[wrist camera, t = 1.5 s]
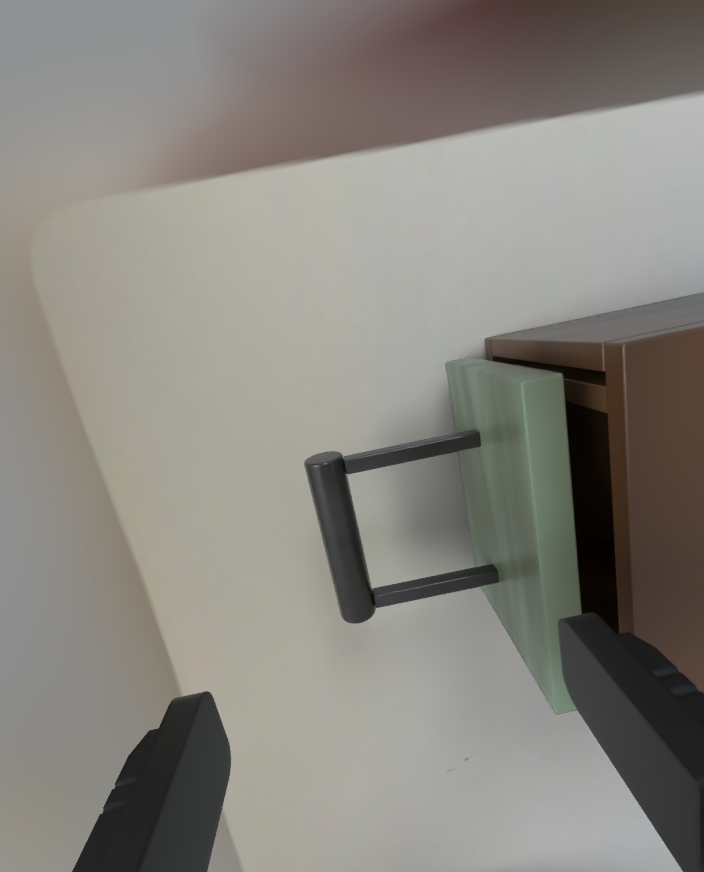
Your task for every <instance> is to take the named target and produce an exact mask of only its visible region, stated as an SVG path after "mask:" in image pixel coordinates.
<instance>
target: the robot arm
mask: <svg viewBox="0 0 704 872" xmlns="http://www.w3.org/2000/svg"><path fill="white" fill-rule="evenodd" d="M558 634H559V643H560V653H561V663H562V673H563V678H564V682H565V685H566V688H567V691H568V693H569V695H570V698H571V700H572V702H573V703H574V705H575V707H576V708H577V710H578V712H579V713H580V715H581V716H582V718H583V719H584V721H585V722H586V724H587V725H588V727H589V728H590V730H591V731H592V733H593V734H594V736H595V738H596V739H597V741H598V742H599V744H600V745H601V747H602V748H603V750H604V751H605V753H606V754H607V756H608V757H609V759H610V760H611V762H612V764H613V765H614V767H615V768H616V770H617V771H618V773H619V774H620V776H621V777H622V779H623V780H624V782H625V783H626V785H627V786H628V788H629V789H630V791H631V793H632V794H633V796H634V797H635V799H636V800H637V802H638V803H639V805H640V806H641V808H642V809H643V811H644V812H645V814H646V815H647V817H648V819H649V820H650V822H651V823H652V825H653V826H654V828H655V829H656V831H657V832H658V834H659V835H660V837H661V838H662V840H663V841H664V843H665V845H666V846H667V848H668V849H669V851H670V852H671V854H672V855H673V857H674V858H675V860H676V861H677V863H678V864H679V866H680V867H681V869H682V871H683V872H704V693H703V692H702V691H700V692H699V691H698V689H697V687H696V686H695V685H694V684H693V683H692V682H691V681H690V680H689V679H688V678H687V677H686V676H685V675H684V674H683V673H680V672H679V671H678V668H677V667H676V666H675V665H674V664H673V663H672V662H671V661H670V660H668V659H667V658H666V657H665V656H664V655H663V654H662V653H661V652H660V651H659V650H658V649H657V648H656V647H654V646H653V645H651V644H649V643H647V642H645V641H644V640H642V639H640V638H638V637H636V636H635V635H633V634H631V633H629V632H626V633H621V634H616V633H615V632H614V631H613V630H612V629H611V628H610V627H609V626H608V625H607V624H606V623H605V622H604V620H603V619H602V618H601V617H600V616H599V615H597V614H596V613H594V612H590V613H586V614H581V615H576V616H571V617H567V618H562V619H559V621H558ZM230 767H231V753H230V746H229V742H228V739H227V736H226V733H225V730H224V727H223V724H222V721H221V719H220V716H219V713H218V710H217V707H216V704H215V702H214V699H213V696H212V695H211V693H210V692H202V693H197V694H192V695H188V696H183V697H178V698H175V699H173V700H172V701H171V703H170V705H169V706H168V709H167V711H166V713H165V715H164V718H163V720H162V722H161V724H160V727H159V729H154V730H150V731H149V732H148V733H147V734H146V735H145V736H144V738H143V739H142V740H141V741H140V743H139V744H138V745H137V746H136V748H135V749H134V750H133V751H132V752H131V754H130V755H129V756H128V758H127V760H126V762H125V765H124V766H123V768H122V770H121V773H120V775H119V777H118V779H117V781H116V783H115V789H112V791H111V793H110V795H109V797H108V799H107V801H106V803H105V805H104V807H103V808H104V811H103V814H100V816H99V818H98V820H97V822H96V824H95V826H94V828H93V830H92V832H91V834H90V836H89V838H88V841H87V842H86V844H85V846H84V849H83V851H82V853H81V855H80V857H79V859H78V861H77V863H76V865H75V868H74V869H73V871H72V872H207V870H208V865H209V861H210V857H211V852H212V848H213V844H214V840H215V836H216V831H217V827H218V823H219V819H220V814H221V810H222V806H223V802H224V797H225V793H226V789H227V785H228V780H229V776H230Z"/></svg>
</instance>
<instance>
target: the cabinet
mask: <svg viewBox="0 0 704 872" xmlns="http://www.w3.org/2000/svg"><path fill="white" fill-rule="evenodd" d="M485 346H486V354H487V360H488V361H494V362H500V363H506V364H511V365H515V364H520V363H525V362H530V361H531V362H538V363H545V364H552V365H559V366H566V367H573V368H580V369H588V370H595V371H602V372H605V373H606V392H607V411H608V429H609V448H610V467H611V486H612V505H613V524H614V543H615V561H616V580H617V599H618V618H619V634H621V633H626V632H629V633H631V634H633V635H635V636H636V637H638V638H640V639H642V640H644V641H645V642H647V643H649V644H651V645H653V646H654V647H656V648H657V649H658V650H659V651H660V652H661V653H662V654H663V655H664V656H665V657H666V658H667V659H668V660H670V661H671V662H672V663H673V664H674V665H675V666H676V667H677V668H678V671H679V672H680V673H683V674H684V675H685V676H686V677H687V678H688V679H689V680H690V681H691V682H692V683H693V684H694V685H695V686H696V687H697V689H698V691H699V692H700V691H702V692H703V693H704V293H699V294H694V295H689V296H685V297H680V298H675V299H670V300H666V301H661V302H656V303H651V304H647V305H642V306H637V307H632V308H627V309H623V310H618V311H613V312H608V313H604V314H599V315H594V316H589V317H585V318H580V319H575V320H570V321H566V322H561V323H556V324H551V325H547V326H542V327H537V328H532V329H527V330H523V331H518V332H513V333H508V334H504V335H499V336H494V337H489V338H486V339H485Z"/></svg>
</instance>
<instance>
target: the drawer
mask: <svg viewBox="0 0 704 872" xmlns="http://www.w3.org/2000/svg"><path fill="white" fill-rule="evenodd" d="M446 371H447V378H448V385H449V392H450V399H451V405H452V412H453V419H454V426H455V433H453V434H449V435H444V436H439V437H434V438H429V439H425V440H420V441H415V442H410V443H405V444H401V445H396V446H391V447H386V448H382V449H377V450H372V451H367V452H362V453H358V454H353V455H348V456H344V458H343V455H342V454H341V453H340V452H334V451H332V452H324V453H320V454H316V455H314V456H311V457H310V458H308V459H306V460H305V463H304V465H305V469H306V473H307V477H308V481H309V485H310V490H311V494H312V498H313V502H314V506H315V510H316V514H317V518H318V522H319V527H320V531H321V535H322V539H323V543H324V547H325V551H326V555H327V559H328V563H329V568H330V572H331V576H332V580H333V584H334V588H335V592H336V596H337V600H338V604H339V609H340V613H341V616H342V618H343V619H344V620H345V621H346V622H349V623H361V622H364V621H366V620H368V619H370V618H371V617H372V616H373V615H374V613H375V609H376V608H379V607H384V606H389V605H393V604H398V603H403V602H408V601H413V600H418V599H422V598H427V597H432V596H437V595H442V594H447V593H451V592H456V591H461V590H466V589H471V588H476V587H481V588H482V590H483V592H484V593H485V595H486V597H487V599H488V600H489V602H490V604H491V605H492V607H493V609H494V611H495V612H496V614H497V616H498V617H499V619H500V621H501V623H502V624H503V626H504V628H505V629H506V631H507V633H508V635H509V636H510V638H511V640H512V641H513V643H514V645H515V647H516V648H517V650H518V652H519V653H520V655H521V657H522V659H523V660H524V662H525V664H526V665H527V667H528V669H529V671H530V672H531V674H532V676H533V677H534V679H535V681H536V683H537V684H538V686H539V688H540V689H541V691H542V693H543V695H544V696H545V698H546V700H547V701H548V703H549V705H550V706H551V708H552V710H553V712H554V713H555V714H562V713H567V712H572V711H577V708H576V707H575V705H574V703H573V702H572V700H571V698H570V695H569V693H568V691H567V688H566V685H565V682H564V678H563V673H562V663H561V653H560V643H559V634H558V621H559V619H562V618H567V617H571V616H576V615H581V614H586V613H590V612H594V613H596V614H597V615H599V616H600V617H601V618H602V619H603V620H604V622H605V623H606V624H607V625H608V626H609V627H610V628H611V629H612V630H613V631H614V632H615V633H616V634H619V618H618V599H617V580H616V561H615V543H614V524H613V505H612V486H611V467H610V448H609V429H608V411H607V392H606V373H605V372H602V371H595V370H588V369H580V368H573V367H566V366H559V365H552V364H545V363H538V362H531V361H530V362H525V363H520V364H515V365H511V364H506V363H500V362H494V361H488V360H483V359H477V358H471V357H468V358H464V359H459V360H454V361H449V362H446ZM457 451H458V453H459V460H460V467H461V474H462V480H463V487H464V494H465V501H466V508H467V514H468V521H469V528H470V535H471V542H472V549H473V555H474V562H475V567H474V568H470V569H465V570H460V571H455V572H450V573H446V574H441V575H436V576H431V577H426V578H421V579H417V580H412V581H407V582H402V583H397V584H392V585H388V586H383V587H378V588H373V590H372V588H371V583H370V579H369V574H368V570H367V565H366V560H365V556H364V551H363V547H362V542H361V538H360V533H359V528H358V524H357V519H356V515H355V510H354V506H353V501H352V496H351V492H350V487H349V483H348V478H347V474H352V473H357V472H361V471H366V470H371V469H376V468H381V467H385V466H390V465H395V464H400V463H405V462H409V461H414V460H419V459H424V458H429V457H433V456H438V455H443V454H448V453H452V452H457ZM343 459H344V460H343ZM346 473H347V474H346Z"/></svg>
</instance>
